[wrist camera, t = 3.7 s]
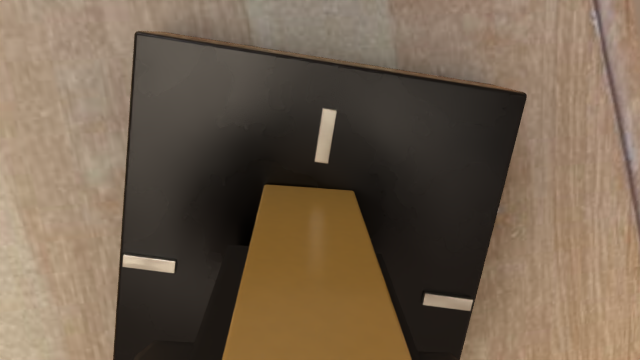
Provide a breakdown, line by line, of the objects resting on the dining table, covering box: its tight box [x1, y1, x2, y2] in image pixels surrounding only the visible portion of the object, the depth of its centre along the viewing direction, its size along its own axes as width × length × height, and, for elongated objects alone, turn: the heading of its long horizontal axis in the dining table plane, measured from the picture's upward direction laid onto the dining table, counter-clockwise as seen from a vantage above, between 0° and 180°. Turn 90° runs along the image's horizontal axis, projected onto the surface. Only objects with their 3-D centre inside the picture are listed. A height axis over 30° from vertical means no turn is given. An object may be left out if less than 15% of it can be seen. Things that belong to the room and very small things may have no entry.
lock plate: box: [113, 31, 527, 360], centre depth 16 cm, size 12×10×3 cm
